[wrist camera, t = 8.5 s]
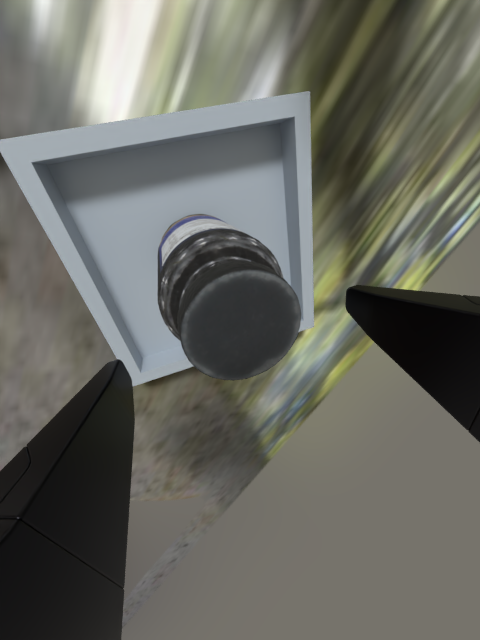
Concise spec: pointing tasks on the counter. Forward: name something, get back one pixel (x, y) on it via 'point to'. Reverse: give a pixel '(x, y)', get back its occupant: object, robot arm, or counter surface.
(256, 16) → the counter surface
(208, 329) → the pill bottle
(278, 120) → the tray
